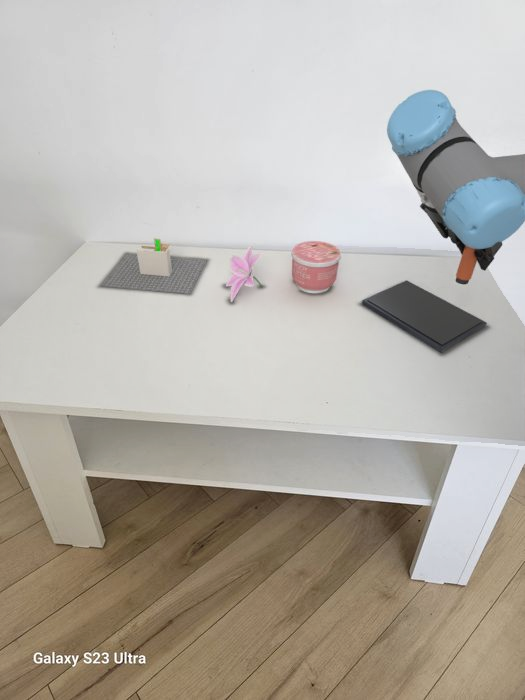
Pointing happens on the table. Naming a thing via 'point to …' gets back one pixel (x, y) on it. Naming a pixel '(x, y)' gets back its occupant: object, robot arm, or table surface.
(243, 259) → the lily
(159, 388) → the table surface
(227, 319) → the table surface
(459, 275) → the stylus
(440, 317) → the plate
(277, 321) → the table surface
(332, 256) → the container
